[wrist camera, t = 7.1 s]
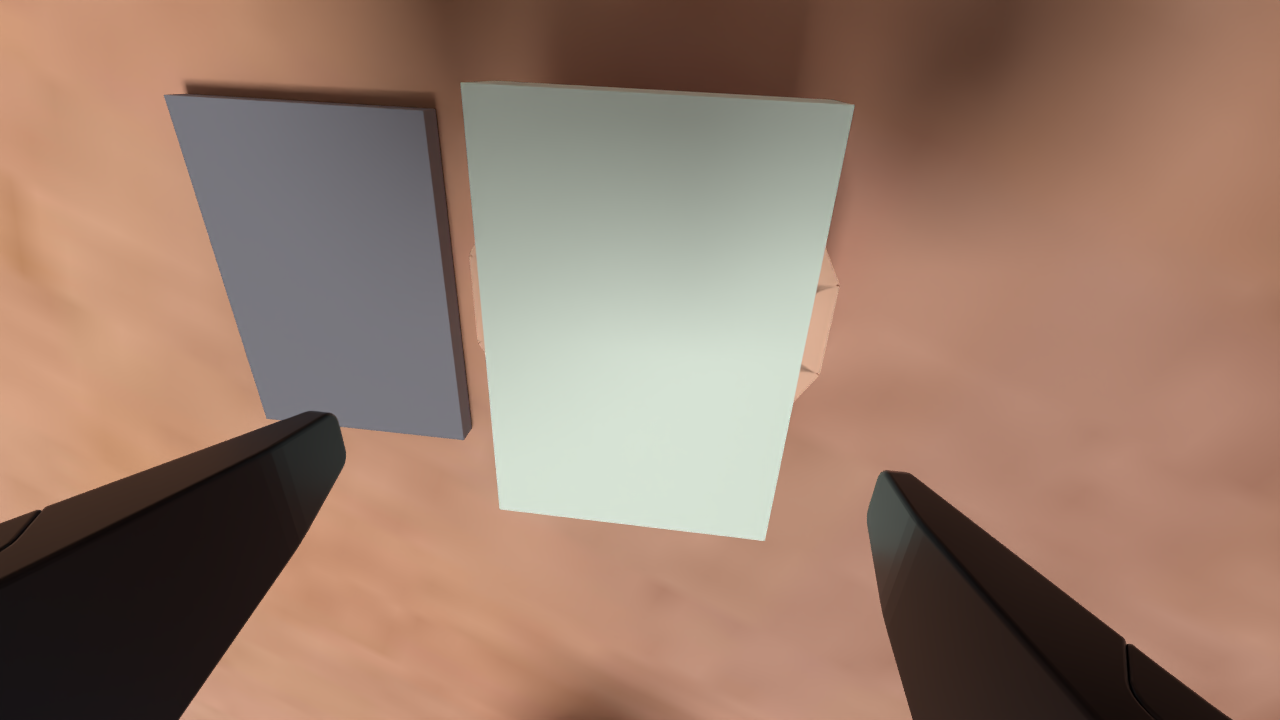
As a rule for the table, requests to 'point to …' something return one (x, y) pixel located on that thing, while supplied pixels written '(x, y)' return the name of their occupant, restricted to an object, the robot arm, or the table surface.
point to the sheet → (647, 293)
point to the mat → (333, 256)
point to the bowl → (815, 336)
